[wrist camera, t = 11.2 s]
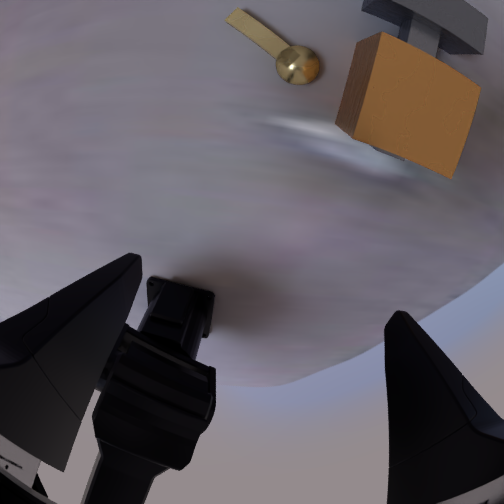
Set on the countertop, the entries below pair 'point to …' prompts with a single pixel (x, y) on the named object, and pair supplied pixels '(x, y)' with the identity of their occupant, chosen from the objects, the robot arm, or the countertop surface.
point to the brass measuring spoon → (278, 49)
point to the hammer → (433, 26)
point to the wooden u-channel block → (407, 103)
